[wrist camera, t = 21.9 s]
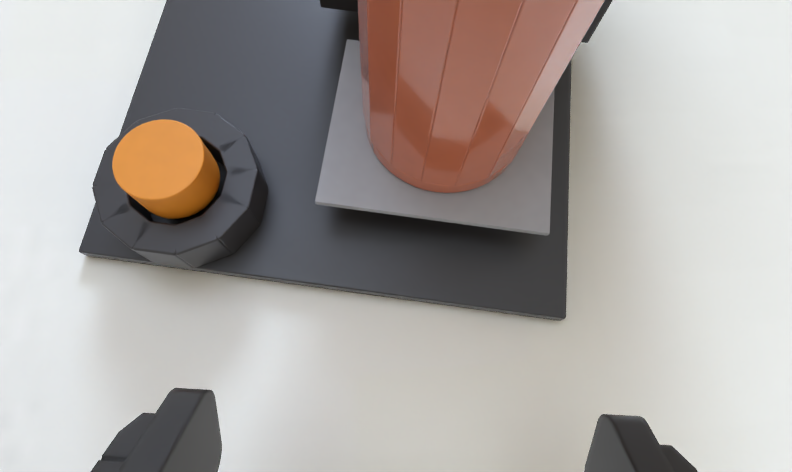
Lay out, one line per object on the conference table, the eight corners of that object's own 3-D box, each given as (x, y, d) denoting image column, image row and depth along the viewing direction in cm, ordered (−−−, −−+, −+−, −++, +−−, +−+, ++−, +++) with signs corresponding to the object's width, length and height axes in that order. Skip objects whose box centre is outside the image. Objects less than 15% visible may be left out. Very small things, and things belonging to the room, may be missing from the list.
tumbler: (333, 106, 20) (289, -185, 10) (454, 31, 21) (521, -291, 11) (431, 225, 18) (495, 23, 9) (554, 136, 20) (732, -127, 10)
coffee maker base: (561, 322, 20) (586, 311, 18) (85, 257, 20) (45, 237, 18) (569, -17, 26) (589, -60, 24) (197, -66, 26) (178, -114, 24)
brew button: (209, 224, 19) (190, 205, 17) (126, 213, 19) (99, 193, 17) (229, 150, 20) (213, 125, 18) (150, 140, 20) (127, 113, 18)
